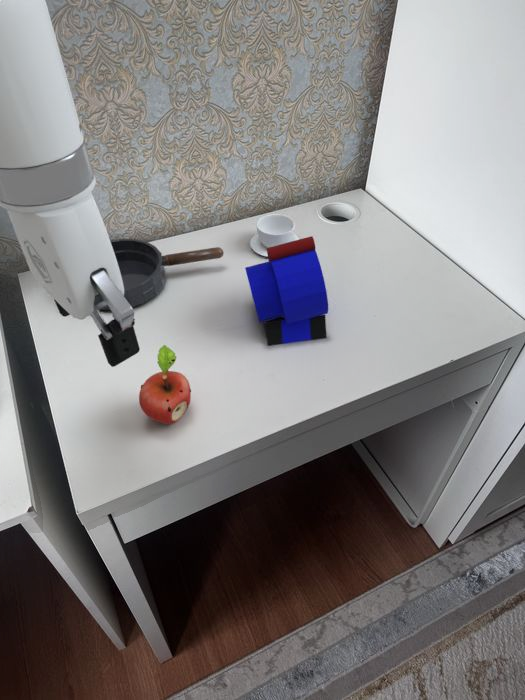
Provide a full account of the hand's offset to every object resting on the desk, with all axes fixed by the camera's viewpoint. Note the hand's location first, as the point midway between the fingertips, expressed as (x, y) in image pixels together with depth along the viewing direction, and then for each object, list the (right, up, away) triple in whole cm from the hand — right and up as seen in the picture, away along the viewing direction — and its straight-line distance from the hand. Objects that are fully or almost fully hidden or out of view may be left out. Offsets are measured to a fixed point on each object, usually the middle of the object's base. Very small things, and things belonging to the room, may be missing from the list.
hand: (99, 332), depth 49 cm
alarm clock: (+20, +4, +32) cm, 38 cm away
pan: (-9, +10, +38) cm, 41 cm away
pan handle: (+4, +14, +38) cm, 41 cm away
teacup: (+19, +19, +47) cm, 54 cm away
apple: (+4, -11, +18) cm, 22 cm away
